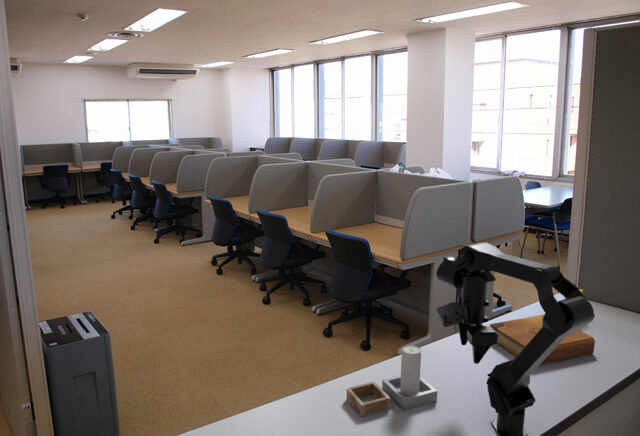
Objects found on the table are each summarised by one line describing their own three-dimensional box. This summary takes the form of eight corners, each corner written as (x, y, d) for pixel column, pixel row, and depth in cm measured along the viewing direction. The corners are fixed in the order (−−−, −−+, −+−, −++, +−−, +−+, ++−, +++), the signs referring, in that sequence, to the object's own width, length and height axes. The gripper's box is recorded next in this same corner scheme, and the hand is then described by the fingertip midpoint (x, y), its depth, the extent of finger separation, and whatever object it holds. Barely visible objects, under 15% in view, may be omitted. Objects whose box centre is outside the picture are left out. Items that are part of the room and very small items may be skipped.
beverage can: (409, 385, 132) (411, 343, 129) (423, 393, 128) (425, 350, 125) (396, 391, 129) (397, 348, 126) (409, 399, 125) (411, 356, 122)
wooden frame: (390, 408, 123) (390, 397, 123) (361, 416, 120) (361, 405, 119) (374, 391, 130) (374, 381, 130) (346, 399, 127) (346, 388, 127)
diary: (530, 369, 142) (532, 351, 141) (488, 340, 159) (490, 324, 158) (593, 355, 149) (595, 337, 148) (546, 329, 167) (548, 313, 165)
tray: (436, 401, 126) (437, 390, 125) (403, 411, 122) (403, 400, 122) (414, 381, 135) (414, 371, 134) (382, 389, 131) (382, 379, 130)
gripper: (430, 281, 129) (427, 337, 132) (452, 311, 110) (448, 374, 114) (473, 280, 129) (469, 336, 133) (502, 310, 111) (496, 373, 114)
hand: (469, 353), depth 123 cm, fingers open, 9 cm apart
